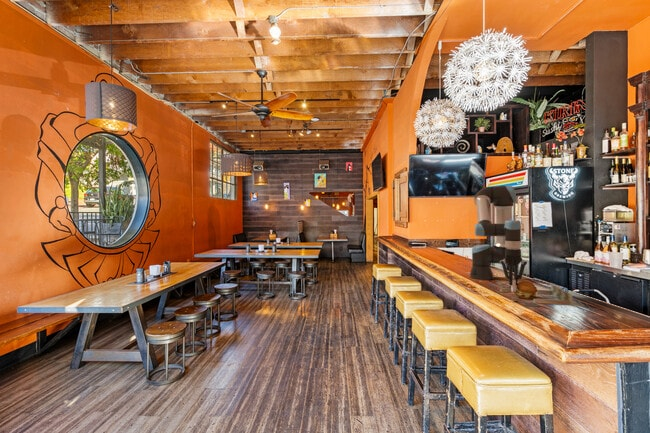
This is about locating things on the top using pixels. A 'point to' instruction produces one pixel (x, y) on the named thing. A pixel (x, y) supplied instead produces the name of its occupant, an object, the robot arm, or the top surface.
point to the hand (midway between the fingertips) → (513, 291)
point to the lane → (559, 293)
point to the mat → (531, 304)
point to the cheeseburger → (526, 290)
